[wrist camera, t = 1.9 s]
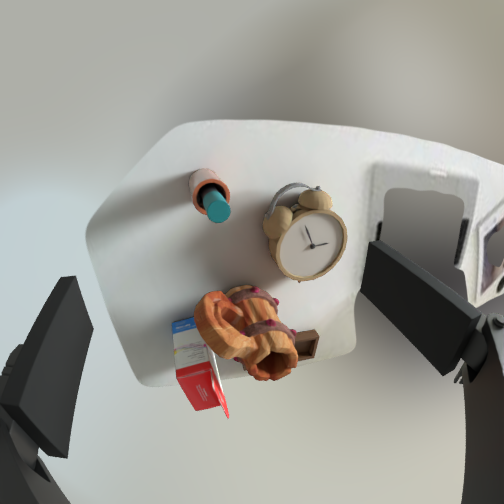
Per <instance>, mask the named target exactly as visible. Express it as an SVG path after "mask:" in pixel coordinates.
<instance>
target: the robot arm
mask: <svg viewBox="0 0 504 504" xmlns="http://www.w3.org/2000/svg"><path fill="white" fill-rule="evenodd" d="M360 292H361V293H362V294H364V295H365V296H366V297H367V298H368V299H369V300H370V301H371V302H372V303H373V304H374V305H375V306H376V307H377V308H378V309H379V310H380V311H381V312H382V313H383V314H384V315H385V316H386V317H387V318H388V319H389V320H390V321H391V322H392V323H393V324H394V325H395V326H396V327H397V328H398V329H399V330H400V331H401V332H402V333H403V335H404V336H405V337H406V338H407V339H409V341H410V342H411V343H412V344H413V345H414V346H415V347H416V348H417V349H418V350H419V351H420V352H421V353H422V354H423V355H424V356H425V357H426V359H427V360H428V361H429V362H430V363H431V364H432V365H433V366H434V367H435V368H436V369H437V370H438V371H439V373H440V374H441V375H442V376H444V375H446V374H448V373H449V372H451V371H453V370H454V369H455V367H456V366H457V364H458V362H459V360H460V358H462V359H463V360H464V361H465V362H464V364H463V365H462V367H461V369H460V371H459V372H458V374H457V376H456V377H455V379H454V383H456V382H457V381H458V379H459V377H461V376H462V379H461V381H460V382H459V383H460V384H463V387H464V400H465V416H466V417H465V419H466V455H465V473H464V485H463V494H462V501H461V504H504V316H502V315H501V314H497V313H491V314H489V315H488V316H485V315H484V314H483V313H482V312H480V311H479V310H478V309H477V308H475V307H474V306H473V305H471V304H470V303H469V302H468V301H466V300H465V299H463V298H462V297H461V296H460V295H458V294H457V293H456V292H455V291H453V290H452V289H450V288H449V287H448V286H446V285H445V284H443V283H442V282H441V281H439V280H438V279H437V278H435V277H434V276H432V275H431V274H430V273H428V272H427V271H425V270H424V269H422V268H421V267H420V266H418V265H417V264H415V263H414V262H412V261H411V260H409V259H408V258H407V257H405V256H403V255H402V254H401V253H399V252H398V251H396V250H395V249H393V248H392V247H390V246H389V245H387V244H385V243H384V242H382V241H373V242H369V245H368V251H367V257H366V263H365V269H364V274H363V279H362V284H361V289H360ZM93 329H94V328H93V326H92V323H91V320H90V318H89V315H88V312H87V309H86V306H85V303H84V300H83V298H82V295H81V291H80V288H79V285H78V281H77V278H76V276H68V277H61V278H60V279H59V281H58V282H57V284H56V286H55V287H54V289H53V290H52V292H51V294H50V296H49V297H48V299H47V301H46V302H45V304H44V306H43V308H42V310H41V311H40V313H39V315H38V317H37V319H36V321H35V322H34V324H33V326H32V328H31V330H30V332H29V334H28V336H27V339H26V340H25V342H24V344H19V345H18V346H17V347H16V348H15V349H14V350H13V351H12V353H11V354H10V356H9V358H8V360H7V362H6V367H4V369H3V371H2V376H0V504H70V502H69V501H68V499H67V498H66V497H65V495H64V494H63V492H62V491H61V490H60V488H59V486H58V485H57V484H56V482H55V480H54V479H53V477H52V476H51V474H50V472H49V471H48V469H47V468H46V466H45V464H44V463H43V461H42V460H41V458H40V457H39V456H38V455H37V454H38V449H39V447H40V448H41V449H42V450H43V451H44V452H45V453H46V454H47V455H48V456H53V457H60V458H68V450H69V442H70V435H71V428H72V422H73V416H74V409H75V405H76V399H77V394H78V389H79V385H80V380H81V376H82V371H83V367H84V363H85V359H86V355H87V351H88V348H89V343H90V340H91V337H92V333H93Z"/></svg>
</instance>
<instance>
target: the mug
mask: <svg viewBox="0 0 504 504" xmlns="http://www.w3.org/2000/svg"><path fill="white" fill-rule="evenodd" d="M278 304H279V301H278V299H276V298H272V297H271V296H270V295H269V293H267V292H266V291H264V290H261V289H259V288H258V287H256V286H251V285H242V286H239V287H235V288H232V289H230V290H229V291H228V292H227V293H226V294H225V295H224V294H223V293H222V292H221V291H212V292H209V293H207V294H205V295H204V296H203V298H202V299H201V300H200V302H199V303H198V304H197V305H196V308H195V311H194V322H195V324H196V327H197V329H198V331H199V333H200V335H201V337H202V338H203V340H204V341H205V342H206V344H207V345H208V346H209V347H210V348H211V350H212V351H213V352H214V353H216V354H217V355H218V356H220V357H222V358H225V359H231V358H234V360H235V361H237V362H241V363H242V364H243V365H244V366H246V369H247V371H248V373H249V374H250V375H251V376H254V378H255V379H256V380H259V381H262V380H264V381H267V380H268V379H271V380H273V381H275V380H278V379H280V378H282V377H284V376H286V375H288V374H290V373H291V368H296V366H297V362H298V354H297V351H296V349H295V347H294V346H295V337H296V334H297V333H296V331H295V330H293V329H289V328H288V327H287V326H285V325H284V324H283V323H281V322H280V320H279V318H278V316H277V312H278V310H277V305H278Z"/></svg>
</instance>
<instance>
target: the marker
mask: <svg viewBox="0 0 504 504" xmlns="http://www.w3.org/2000/svg"><path fill="white" fill-rule="evenodd" d="M199 192H200V194H201V197H202V199H203V205H204V208H205V210H206V213H207V216H208V218H209V219H210V220H211V221H213V222H215V223H221V222H224V221H225V220H227V219H228V217H229V215H230V206H229V205H228V203H227V202H226V200H225V199H224V197H223V196H222V195H221V194H220V193H219V192H218V190H217V189H216V188H215V186H214V185H213V183H207V184H205V185H203V186H202V187H201V188H200V189H199Z"/></svg>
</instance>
